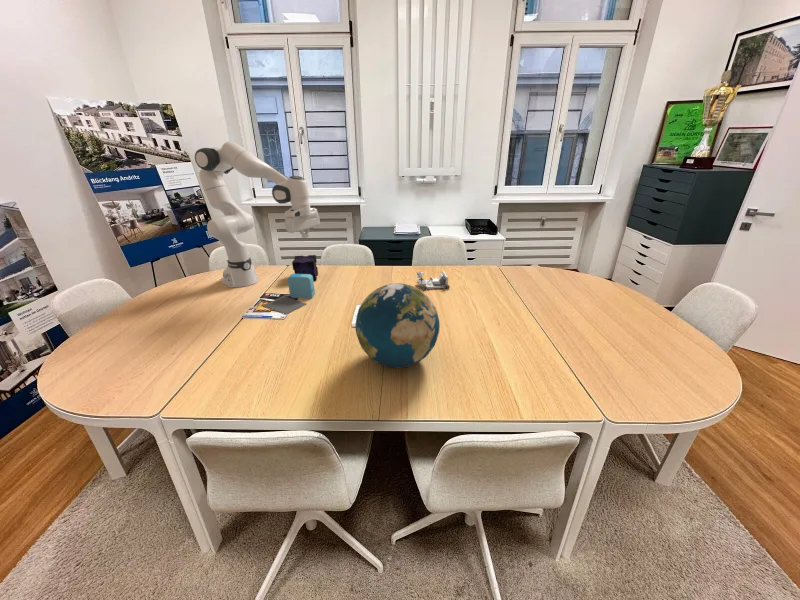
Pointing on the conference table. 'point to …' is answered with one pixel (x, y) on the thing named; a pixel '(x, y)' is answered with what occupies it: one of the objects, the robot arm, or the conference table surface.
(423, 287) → the toy car
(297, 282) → the light blue flat block
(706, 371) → the conference table surface
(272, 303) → the mat
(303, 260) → the energy cube
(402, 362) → the globe
